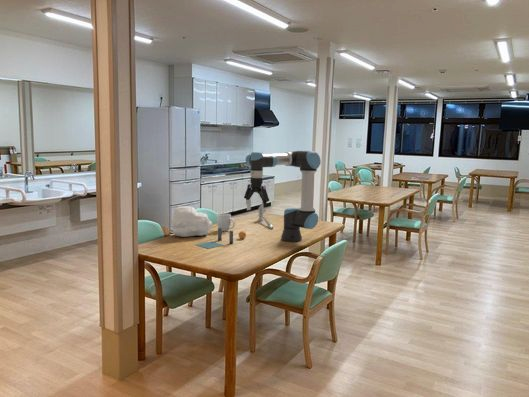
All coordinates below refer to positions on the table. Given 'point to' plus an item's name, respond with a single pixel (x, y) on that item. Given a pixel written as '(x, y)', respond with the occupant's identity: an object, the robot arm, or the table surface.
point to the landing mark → (209, 245)
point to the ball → (242, 234)
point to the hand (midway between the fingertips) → (256, 211)
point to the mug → (224, 221)
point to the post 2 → (230, 237)
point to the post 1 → (219, 234)
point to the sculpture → (190, 222)
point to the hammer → (263, 217)
